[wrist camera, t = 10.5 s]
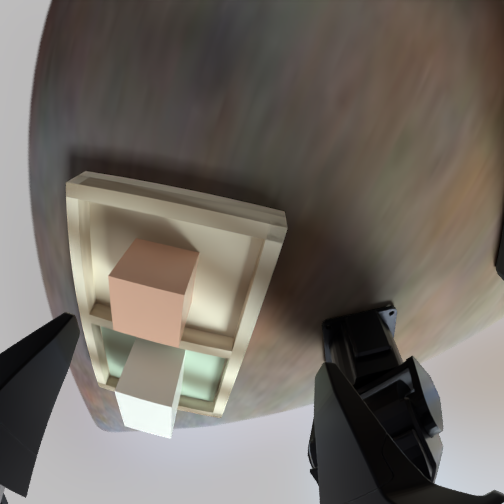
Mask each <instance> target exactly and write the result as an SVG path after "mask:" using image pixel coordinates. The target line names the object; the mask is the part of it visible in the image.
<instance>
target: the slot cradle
mask: <svg viewBox="0 0 504 504" xmlns="http://www.w3.org/2000/svg"><path fill="white" fill-rule="evenodd" d="M66 204H67V223H68V236H69V246H70V255H71V263H72V271H73V278H74V284H75V290H76V296H77V302H78V307H79V312H80V317H81V322H82V326H83V330H84V335H85V339H86V343H87V347H88V351H89V354H90V358H91V362H92V365H93V369H94V372H95V375H96V378H97V382H98V385H99V387H102V388H105V389H108V390H111V391H114V392H115V389H116V386H117V384H118V381H119V379H120V376H121V374H122V371H123V369H124V366H125V364H126V361H127V359H128V356H129V354H130V351H131V349H132V347H133V344H134V342H135V339H136V337H135V336H131V335H128V334H125V333H121V332H118V331H115V330H113V322H112V313H111V304H110V293H109V280H108V275H109V274H110V273H111V271H112V270H113V268H114V267H115V266H116V264H117V263H118V261H119V260H120V259H121V257H122V256H123V255H124V253H125V252H126V251H127V249H128V248H129V247H130V245H131V244H132V243H133V241H134V240H135V239H136V238H138V239H142V240H147V241H151V242H155V243H160V244H164V245H168V246H173V247H177V248H182V249H186V250H190V251H195V252H199V259H198V265H197V271H196V277H195V284H194V290H193V297H192V304H191V307H190V310H189V314H188V317H187V320H186V324H185V327H184V331H183V334H182V338H181V341H180V345H179V348H180V349H185V350H186V354H185V362H184V371H183V381H182V390H181V394H180V399H179V403H178V408H177V409H178V410H182V411H186V412H191V413H196V414H201V415H206V416H211V417H217V418H221V417H222V414H223V412H224V409H225V406H226V404H227V401H228V398H229V396H230V393H231V390H232V387H233V385H234V382H235V379H236V377H237V374H238V371H239V368H240V366H241V363H242V360H243V357H244V355H245V352H246V349H247V346H248V343H249V341H250V338H251V335H252V332H253V329H254V326H255V324H256V321H257V318H258V315H259V312H260V309H261V306H262V303H263V301H264V298H265V295H266V292H267V289H268V286H269V283H270V280H271V277H272V274H273V271H274V268H275V265H276V262H277V259H278V256H279V253H280V250H281V247H282V244H283V241H284V238H285V235H286V232H287V229H288V228H287V222H286V216H285V211H281V210H277V209H272V208H268V207H264V206H260V205H256V204H251V203H247V202H243V201H238V200H234V199H230V198H225V197H221V196H216V195H211V194H207V193H202V192H197V191H193V190H188V189H183V188H178V187H173V186H168V185H163V184H157V183H152V182H147V181H142V180H136V179H130V178H125V177H119V176H113V175H107V174H101V173H95V172H89V171H85V172H83V173H81V174H79V175H78V176H76V177H74V178H72V179H71V180H69V181H67V182H66ZM145 340H146V339H145ZM156 343H157V342H156ZM160 344H161V343H160ZM164 345H165V344H164ZM168 346H169V345H168ZM172 347H173V346H172ZM176 348H177V347H176Z"/></svg>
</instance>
